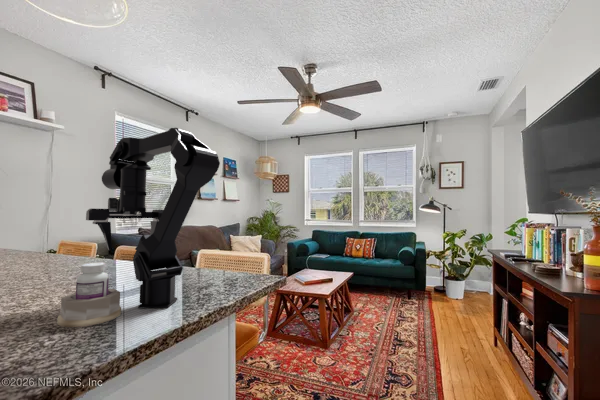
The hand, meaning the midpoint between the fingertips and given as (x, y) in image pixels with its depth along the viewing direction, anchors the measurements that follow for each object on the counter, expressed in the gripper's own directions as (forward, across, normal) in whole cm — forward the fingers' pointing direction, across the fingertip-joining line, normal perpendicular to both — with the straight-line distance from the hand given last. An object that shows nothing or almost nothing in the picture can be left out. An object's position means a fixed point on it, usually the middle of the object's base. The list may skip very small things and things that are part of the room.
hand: (131, 248), depth 74 cm
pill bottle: (+11, +9, +12) cm, 19 cm away
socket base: (+12, +9, +12) cm, 19 cm away
